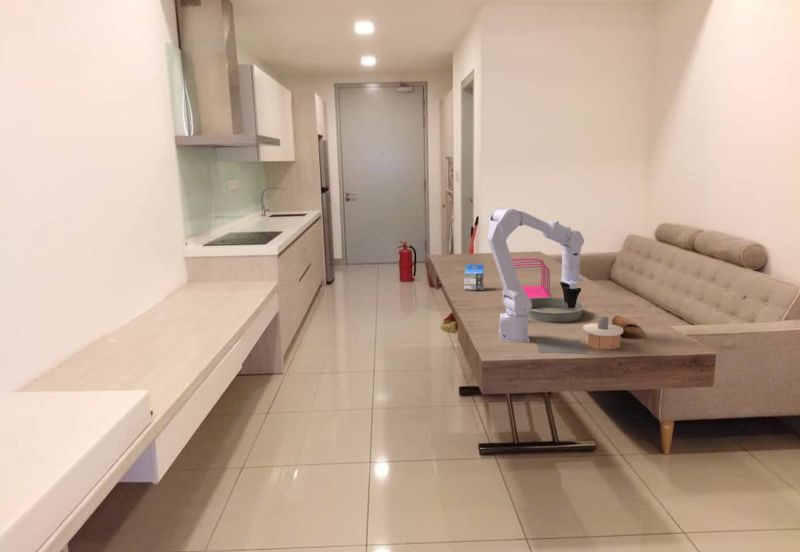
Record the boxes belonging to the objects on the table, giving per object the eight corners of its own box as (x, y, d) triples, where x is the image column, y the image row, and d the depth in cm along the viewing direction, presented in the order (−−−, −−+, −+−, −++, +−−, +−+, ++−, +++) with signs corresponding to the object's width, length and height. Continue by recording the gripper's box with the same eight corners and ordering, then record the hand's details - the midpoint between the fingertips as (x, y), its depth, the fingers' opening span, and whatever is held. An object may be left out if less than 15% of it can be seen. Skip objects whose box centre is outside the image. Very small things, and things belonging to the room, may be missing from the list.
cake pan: (521, 323, 206) (521, 312, 205) (517, 307, 229) (517, 296, 229) (590, 324, 202) (591, 312, 201) (579, 307, 226) (579, 297, 225)
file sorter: (510, 302, 239) (510, 266, 236) (505, 289, 264) (505, 257, 261) (551, 301, 237) (552, 265, 234) (543, 289, 262) (543, 256, 259)
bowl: (589, 350, 173) (590, 334, 172) (584, 341, 182) (584, 326, 181) (622, 351, 171) (622, 335, 170) (615, 341, 180) (615, 326, 180)
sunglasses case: (647, 338, 182) (637, 321, 182) (627, 348, 184) (617, 331, 183) (636, 324, 199) (627, 308, 199) (618, 333, 201) (608, 317, 201)
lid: (586, 336, 171) (587, 322, 170) (579, 325, 182) (580, 312, 182) (627, 336, 169) (628, 322, 168) (617, 325, 181) (618, 312, 180)
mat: (539, 354, 171) (539, 352, 170) (535, 340, 184) (535, 339, 184) (586, 355, 168) (586, 353, 168) (579, 341, 182) (579, 339, 182)
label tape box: (464, 290, 264) (463, 265, 262) (465, 288, 268) (465, 263, 265) (482, 291, 261) (482, 265, 259) (484, 289, 265) (483, 264, 262)
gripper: (586, 269, 179) (585, 310, 181) (579, 262, 193) (578, 300, 196) (564, 269, 180) (563, 310, 183) (558, 262, 194) (557, 300, 197)
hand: (569, 305), depth 189 cm, fingers open, 7 cm apart
